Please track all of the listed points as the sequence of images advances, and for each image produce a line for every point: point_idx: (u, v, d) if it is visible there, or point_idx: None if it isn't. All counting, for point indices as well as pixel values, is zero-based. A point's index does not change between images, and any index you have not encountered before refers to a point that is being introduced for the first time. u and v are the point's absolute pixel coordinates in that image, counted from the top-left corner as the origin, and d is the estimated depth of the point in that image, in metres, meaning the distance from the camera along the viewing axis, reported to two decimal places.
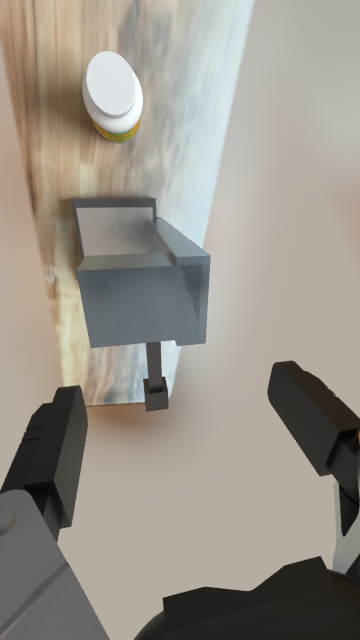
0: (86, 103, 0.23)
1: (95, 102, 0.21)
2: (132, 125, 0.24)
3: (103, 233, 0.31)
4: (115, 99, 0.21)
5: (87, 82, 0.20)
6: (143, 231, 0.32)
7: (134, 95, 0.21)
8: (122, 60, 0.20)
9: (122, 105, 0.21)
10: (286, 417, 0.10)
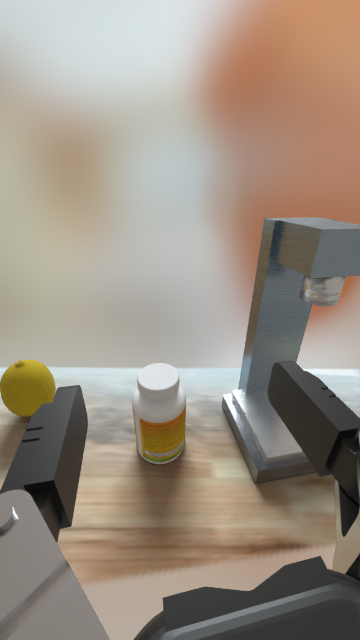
0: (169, 412, 0.23)
1: (173, 384, 0.23)
2: None
3: (280, 428, 0.27)
4: (168, 373, 0.24)
5: (160, 389, 0.22)
6: (258, 395, 0.31)
7: (162, 363, 0.26)
8: (142, 370, 0.25)
9: (170, 369, 0.25)
10: (286, 417, 0.10)
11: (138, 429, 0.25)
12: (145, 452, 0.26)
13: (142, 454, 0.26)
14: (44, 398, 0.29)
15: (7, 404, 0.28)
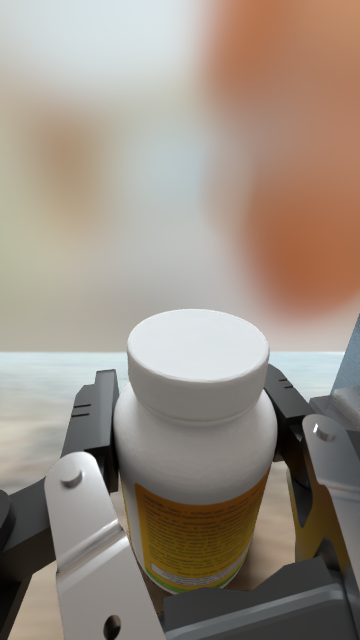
0: (245, 466, 0.06)
1: (260, 362, 0.06)
2: None
3: None
4: (226, 330, 0.07)
5: (217, 378, 0.06)
6: None
7: None
8: (142, 324, 0.08)
9: (231, 321, 0.08)
10: None
11: (132, 508, 0.08)
12: (151, 567, 0.09)
13: (144, 566, 0.09)
14: None
15: None
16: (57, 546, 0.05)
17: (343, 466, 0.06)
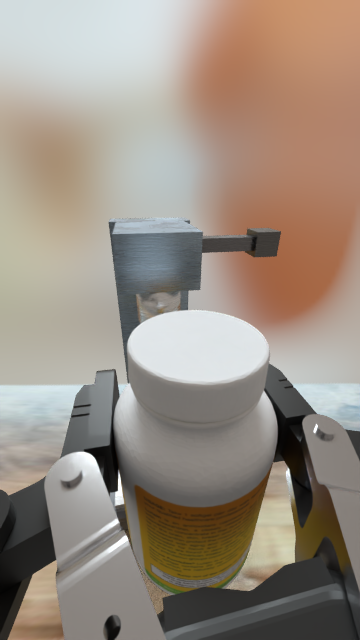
0: (245, 468, 0.06)
1: (260, 363, 0.06)
2: None
3: None
4: (227, 331, 0.07)
5: (218, 380, 0.06)
6: None
7: (201, 311, 0.09)
8: (142, 325, 0.08)
9: (231, 322, 0.08)
10: None
11: (132, 510, 0.08)
12: (152, 569, 0.09)
13: (144, 568, 0.09)
14: None
15: None
16: (57, 546, 0.05)
17: (344, 466, 0.06)
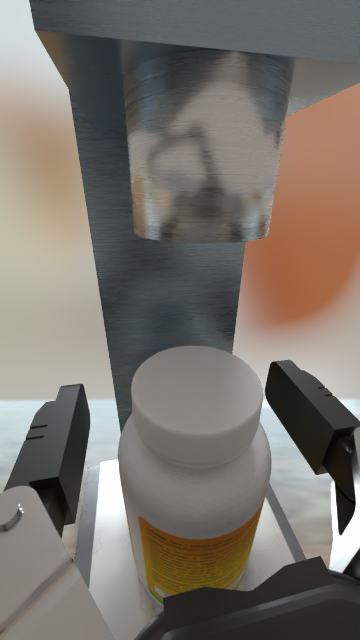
0: (240, 503, 0.07)
1: (253, 409, 0.07)
2: None
3: None
4: (223, 371, 0.08)
5: (214, 429, 0.06)
6: None
7: (200, 347, 0.09)
8: (145, 364, 0.08)
9: (228, 360, 0.09)
10: (283, 416, 0.10)
11: (135, 536, 0.09)
12: (154, 589, 0.09)
13: (147, 587, 0.10)
14: None
15: None
16: None
17: None
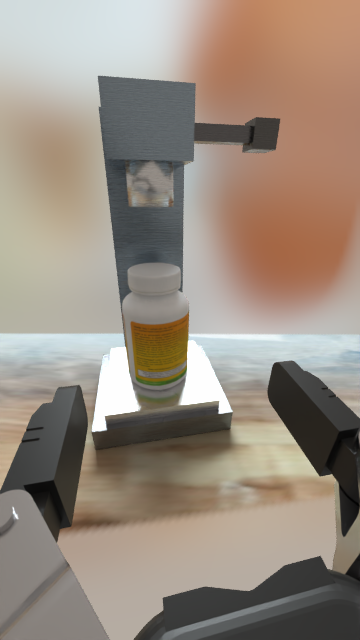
0: (169, 311, 0.18)
1: (173, 273, 0.18)
2: None
3: None
4: (166, 267, 0.19)
5: (156, 276, 0.17)
6: None
7: (159, 263, 0.21)
8: (133, 266, 0.20)
9: (170, 265, 0.20)
10: (286, 417, 0.10)
11: (129, 341, 0.20)
12: (138, 373, 0.21)
13: (135, 378, 0.21)
14: None
15: None
16: None
17: None
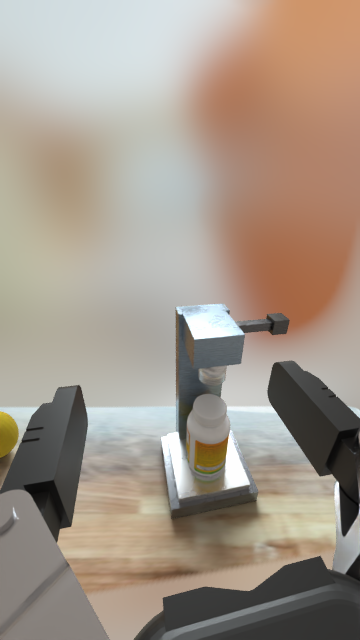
0: (220, 435, 0.29)
1: (223, 413, 0.29)
2: None
3: None
4: (217, 403, 0.30)
5: (214, 417, 0.28)
6: None
7: (210, 394, 0.32)
8: (195, 400, 0.30)
9: (218, 399, 0.31)
10: (286, 417, 0.10)
11: (192, 448, 0.31)
12: (196, 466, 0.31)
13: (193, 468, 0.32)
14: (6, 445, 0.35)
15: None
16: None
17: None
